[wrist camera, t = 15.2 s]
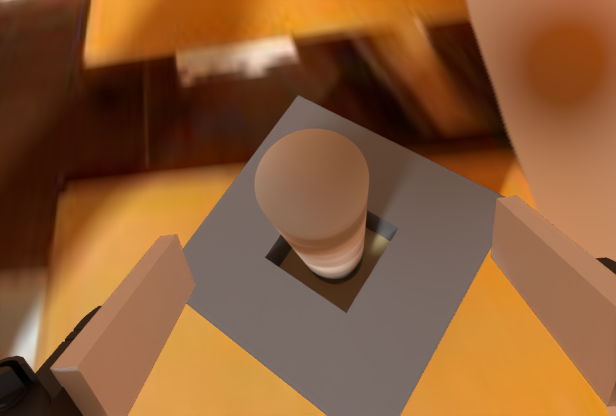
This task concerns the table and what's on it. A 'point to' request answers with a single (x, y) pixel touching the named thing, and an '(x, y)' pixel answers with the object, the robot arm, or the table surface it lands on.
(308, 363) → the socket block
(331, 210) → the birch peg
